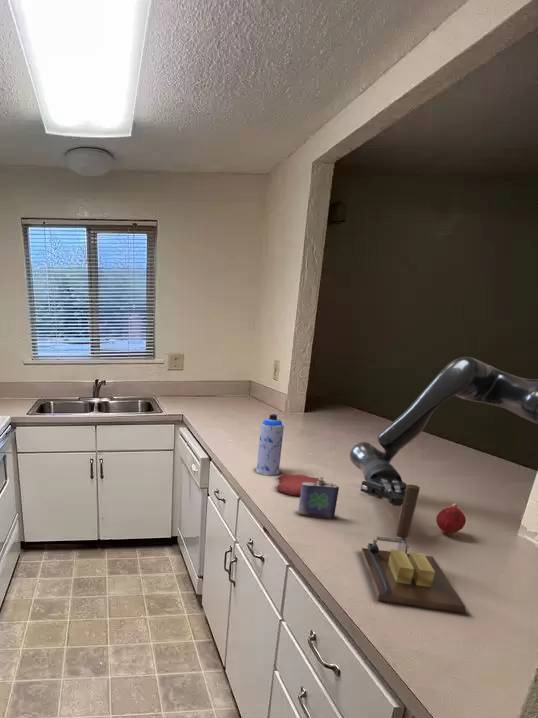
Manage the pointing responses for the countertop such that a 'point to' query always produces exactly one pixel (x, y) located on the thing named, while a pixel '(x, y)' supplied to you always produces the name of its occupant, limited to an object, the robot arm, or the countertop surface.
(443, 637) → the countertop surface
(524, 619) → the countertop surface
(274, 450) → the aerosol can
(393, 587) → the butter board
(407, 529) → the wooden handled slicer
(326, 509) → the flask
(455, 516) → the onion
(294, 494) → the patty
